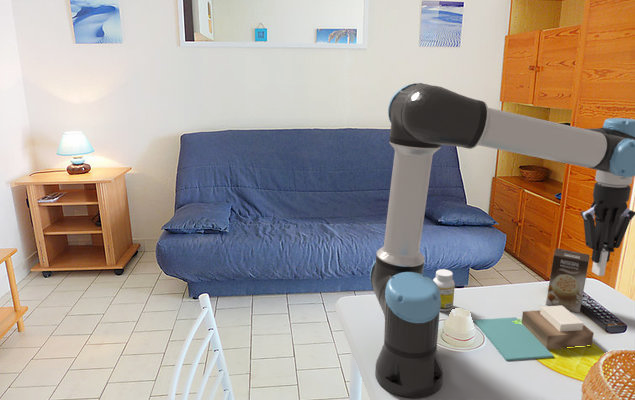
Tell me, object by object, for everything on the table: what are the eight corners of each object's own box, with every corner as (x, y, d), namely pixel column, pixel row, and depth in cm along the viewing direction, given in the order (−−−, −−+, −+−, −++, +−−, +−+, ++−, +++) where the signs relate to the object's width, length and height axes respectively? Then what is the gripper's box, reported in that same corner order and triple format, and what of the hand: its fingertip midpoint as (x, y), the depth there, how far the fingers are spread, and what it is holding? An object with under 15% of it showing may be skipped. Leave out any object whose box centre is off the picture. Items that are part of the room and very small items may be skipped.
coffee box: (544, 305, 140) (552, 254, 135) (547, 296, 145) (554, 247, 140) (580, 313, 135) (588, 261, 130) (581, 304, 140) (590, 253, 135)
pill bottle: (435, 299, 143) (437, 266, 140) (455, 305, 140) (458, 271, 137) (428, 308, 138) (430, 273, 135) (448, 314, 135) (451, 279, 132)
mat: (506, 360, 114) (506, 358, 114) (474, 321, 131) (474, 319, 131) (553, 357, 115) (553, 355, 115) (515, 318, 132) (515, 317, 132)
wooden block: (546, 350, 118) (548, 335, 117) (521, 324, 129) (522, 311, 128) (591, 346, 119) (593, 332, 118) (562, 321, 131) (564, 308, 129)
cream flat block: (559, 331, 119) (560, 324, 118) (539, 313, 127) (540, 306, 127) (582, 330, 119) (583, 323, 119) (561, 312, 128) (562, 305, 127)
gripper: (597, 188, 109) (583, 281, 116) (650, 186, 111) (632, 278, 117) (577, 181, 117) (564, 268, 123) (626, 178, 118) (611, 266, 125)
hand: (597, 273), depth 120 cm, fingers closed
